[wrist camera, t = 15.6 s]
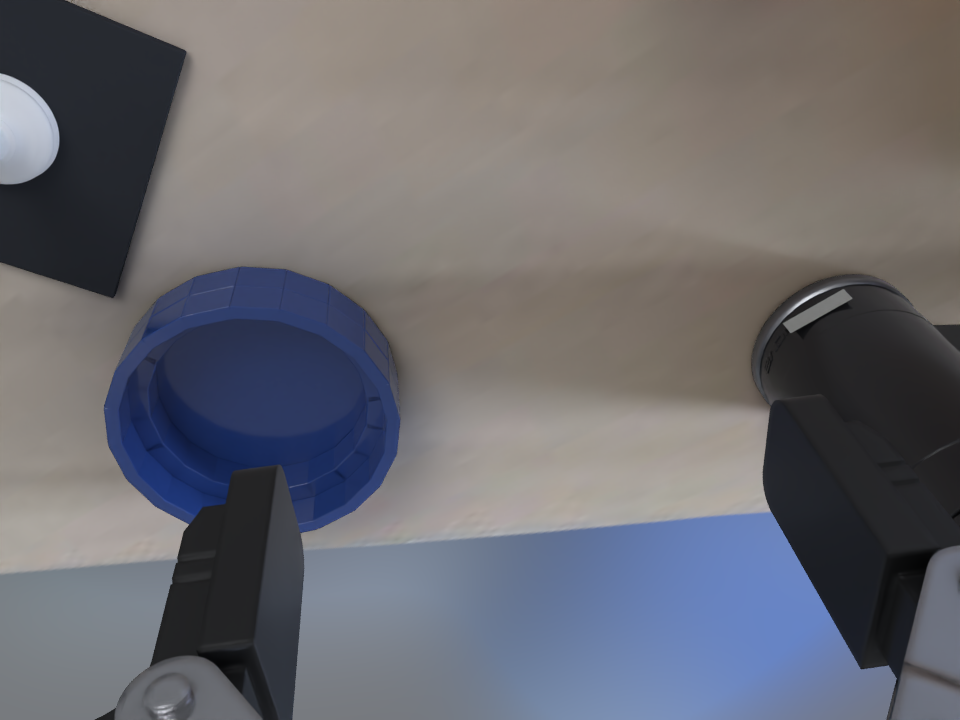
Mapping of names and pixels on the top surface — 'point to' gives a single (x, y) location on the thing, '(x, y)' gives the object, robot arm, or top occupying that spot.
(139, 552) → the top surface
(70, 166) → the mat
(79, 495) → the top surface
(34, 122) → the chess piece
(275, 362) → the bowl
